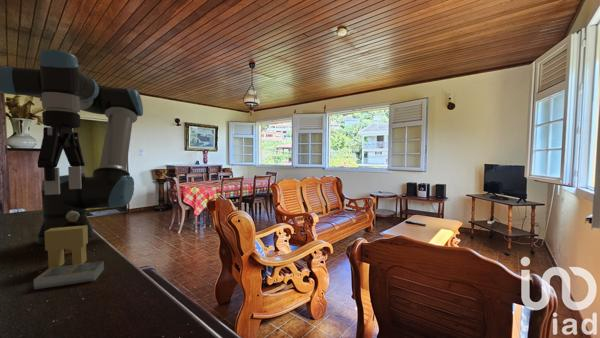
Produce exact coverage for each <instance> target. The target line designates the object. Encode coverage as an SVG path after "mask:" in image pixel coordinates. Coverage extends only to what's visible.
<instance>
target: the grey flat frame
mask: <svg viewBox="0 0 600 338" xmlns="http://www.w3.org/2000/svg"><path fill="white" fill-rule="evenodd" d="M104 269H105V261H104V260H100V261H92V262H84V263H83V264H75V265H72V264H68V265H62V266H59V267H51V268H49V267H47V269H46V270H44V271H43V272H42V273H41V274H39V275H38V276H37V277H35V278H34V279H33V290H40V289H46V288H53V287H60V286H67V285H73V284H81V283H87V282H94V281H96V280H97V278H98V277H99V276H100V275H101V273H102V272H103V271H104Z"/></svg>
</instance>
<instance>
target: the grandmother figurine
mask: <svg viewBox="0 0 600 338" xmlns="http://www.w3.org/2000/svg"><path fill="white" fill-rule="evenodd" d="M79 216H80V214H79V213H78V212H76V211H70V212H68V213H67V215H66V219H68V221H69V223H66V224H65V225H64V226H63V227H72V226H84V225H85V224H83V223H82V222H77V220H78V217H79ZM68 254H72V248H66V249H64V255H68Z"/></svg>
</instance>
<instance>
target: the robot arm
mask: <svg viewBox="0 0 600 338" xmlns="http://www.w3.org/2000/svg"><path fill="white" fill-rule="evenodd" d="M39 53H40V54H39V65H38V66H39V68H27V67H17V66H12V65H11V66H0V92H1V93H3V94H5V95H14V96H28V97H31V98H36V99H37V98H38V99H39V101H40V102H41V108H42V109H43V111H42V112H41V116H42V117H41V119H42V125H43V126H44V127H43V132H42V133H43V135H42V140H41V144H40V148H39V149H40V150H39V154H38V157H37V168H39V169H41V168H43V180H41V181H42V182H41V190H40V193H41V202H42V203H41V206H42V223H41V225H40V227H39V231H38V233H37V235H36V244H38V245H40V246H45V234H44V232H45V231H47V230H49V229H51V228H60V227H63V226H64V225H65V224H66V223H69V221H68V219H66V215H67V213H68V212H70V211H76V212H78V213H79V214H80V216H79V217H78V220H77V222H82V223H83V224H85V225H87V227H88V239H89V238H91V237H92V236H93V235H94V230H93V226H92V224H91V223H90V221H89V218H88V216H87V210H89V209H106V208H108V209H110V208H111V209H115V208H120V207H125V206H127V205H129V203H130V202H131V200H132V198H133V195H134V193H135V192H134V191H135V180H134V178H133V177H132V176H131V174H130V172H129V171H127V166H128V158H129V151H130V142H131V137H132V128H133V124H134V123H135V122H137V120H138V117H143V114H144V107H143V106H144V105H143V101H142V97H141V94H140V92H139V91H138V90H136V89H133V88H128V87H127V88H121V87H120V88H119V87H110V86H109V87H108V86H107V87H106V86H99V85H98V83H97V82H96V81H95V80H94V79H93V78H92V76H89V75H88V74H86V73H84V72H83V71H81V70H80V69H79V68H80V65H79V60H78V58H77V56H76V55H74V54H73V53H70V52H68V51H64V50H58V49H51V48H47V49H46V48H45V49H43V50H41V51H40V52H39ZM81 111H83V112H87V113H91V114H96V115H104V116H105V117H106V118H107V125H106V130H105V135H104V140H103V145H102V151H101V157H100V161H99V166H98V167H97V168H95V169H94V170H93V171H92V172H93V173H92V176H86V175H85V173H82V167H85V163H86V162H85V161H84V157H83V153H82V152H83V151H82V148H81V145H80V140H79V138H80V136H79V133H78V132H76V131H75V132H74V130H73V129H78V128H80V127H81V115H80V114H79V113H80V112H81ZM63 151H64V152H63ZM62 152H63V153H64V155H65V157H66V159H67V161H68V164H69V166H68V168H67V169H68V171H67V173H68V174H65V175H60V167H58V164H59V162H60V159H61V156H62Z"/></svg>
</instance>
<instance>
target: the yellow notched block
mask: <svg viewBox="0 0 600 338" xmlns="http://www.w3.org/2000/svg"><path fill="white" fill-rule="evenodd" d="M44 234H45V245H44V250H45V251H47V262H48V263H47V265H48V268H51V267H59V266H64V264H65V254H64V251H65V249H66V248H72V253H71V258H72V259H71V262H72V264H71V265H75V264H83V263H86V262H87V261H88V259H87V244H88V243H89V238H88V227H87V225H84V226H72V227H60V228H51V229H49V230H47V231H45V232H44Z"/></svg>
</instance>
